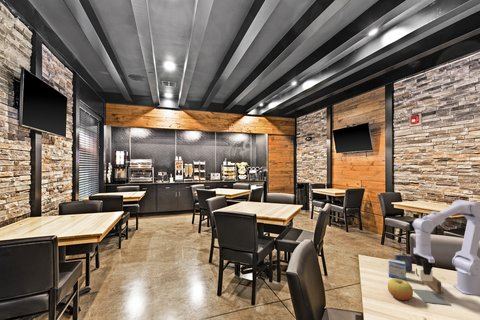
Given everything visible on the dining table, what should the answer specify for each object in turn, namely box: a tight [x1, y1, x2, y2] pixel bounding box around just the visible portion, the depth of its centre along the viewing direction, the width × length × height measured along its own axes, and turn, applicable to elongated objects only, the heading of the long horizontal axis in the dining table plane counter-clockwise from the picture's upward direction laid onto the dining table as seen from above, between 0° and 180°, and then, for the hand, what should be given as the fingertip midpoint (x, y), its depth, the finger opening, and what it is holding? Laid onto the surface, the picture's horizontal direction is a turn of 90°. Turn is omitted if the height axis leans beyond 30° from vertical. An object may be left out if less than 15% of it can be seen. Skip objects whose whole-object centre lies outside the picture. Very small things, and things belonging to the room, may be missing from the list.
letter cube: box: [414, 264, 434, 281], centre depth 113 cm, size 5×5×5 cm
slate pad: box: [412, 288, 452, 306], centre depth 108 cm, size 10×11×1 cm
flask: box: [393, 250, 413, 272], centre depth 136 cm, size 9×3×11 cm, turn 76°
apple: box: [387, 278, 414, 301], centre depth 108 cm, size 10×10×8 cm
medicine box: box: [387, 258, 407, 281], centre depth 128 cm, size 8×4×9 cm, turn 58°
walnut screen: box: [421, 276, 445, 296], centre depth 117 cm, size 3×13×6 cm, turn 168°
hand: (423, 271), depth 113 cm, fingers closed on letter cube, 5 cm apart
